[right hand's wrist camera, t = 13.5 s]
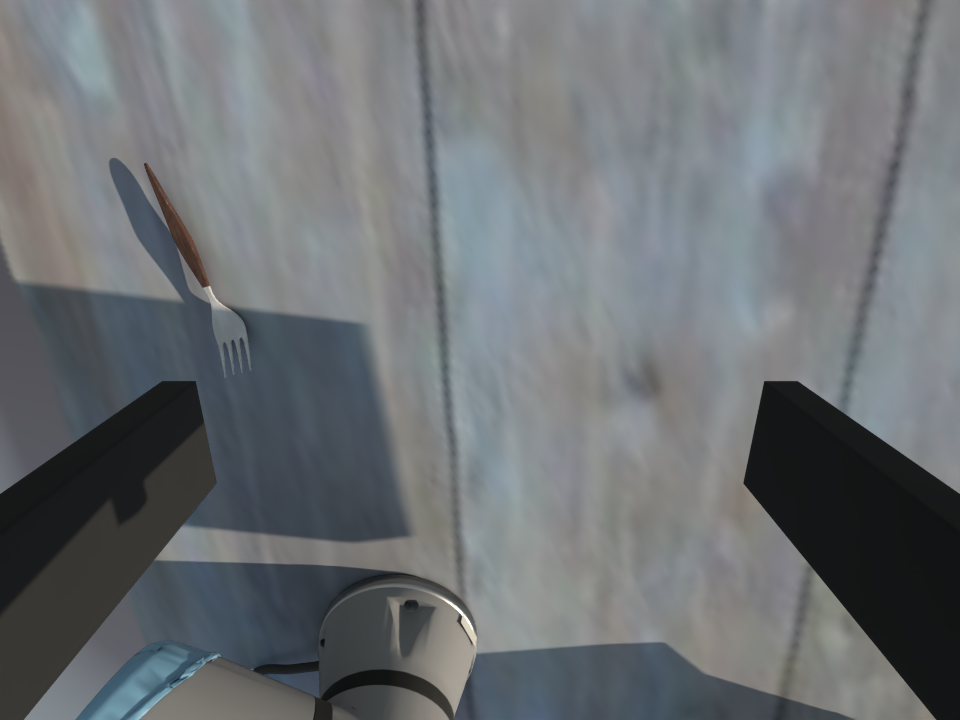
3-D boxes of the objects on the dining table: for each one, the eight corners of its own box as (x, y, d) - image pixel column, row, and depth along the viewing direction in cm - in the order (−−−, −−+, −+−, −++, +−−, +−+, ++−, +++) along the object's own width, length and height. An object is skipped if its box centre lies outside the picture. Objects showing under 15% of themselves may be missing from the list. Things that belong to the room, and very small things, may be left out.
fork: (166, 157, 37) (149, 157, 35) (263, 361, 42) (253, 370, 41) (133, 168, 37) (114, 169, 35) (233, 370, 43) (222, 379, 41)
